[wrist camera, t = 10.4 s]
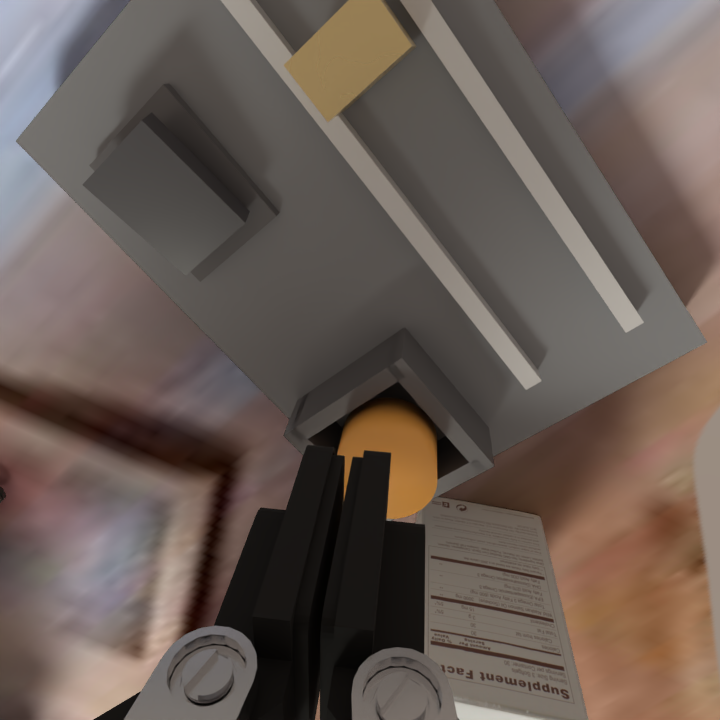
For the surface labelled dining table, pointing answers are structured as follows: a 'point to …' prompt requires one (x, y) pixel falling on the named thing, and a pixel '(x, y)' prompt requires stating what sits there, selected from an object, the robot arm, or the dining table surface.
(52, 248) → the dining table surface
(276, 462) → the dining table surface
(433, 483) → the orange button
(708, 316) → the dining table surface
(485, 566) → the supplement box
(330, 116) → the golden rectangular block
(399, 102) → the panel
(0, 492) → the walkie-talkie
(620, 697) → the dining table surface
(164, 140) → the black rocker
